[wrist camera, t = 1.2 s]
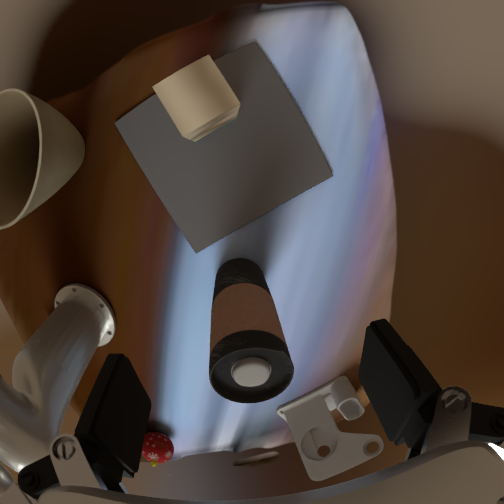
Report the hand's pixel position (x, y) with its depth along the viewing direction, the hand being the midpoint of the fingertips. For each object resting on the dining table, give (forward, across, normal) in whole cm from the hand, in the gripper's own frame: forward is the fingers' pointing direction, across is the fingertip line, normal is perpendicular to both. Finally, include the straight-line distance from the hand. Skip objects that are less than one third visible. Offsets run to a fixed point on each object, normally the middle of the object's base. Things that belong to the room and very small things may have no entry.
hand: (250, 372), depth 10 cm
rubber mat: (+30, 0, -9) cm, 31 cm away
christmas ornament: (+29, +27, +51) cm, 65 cm away
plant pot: (+29, +24, -13) cm, 40 cm away
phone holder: (+30, -12, +44) cm, 55 cm away
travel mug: (+30, +1, +11) cm, 31 cm away
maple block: (+29, +2, -14) cm, 32 cm away
